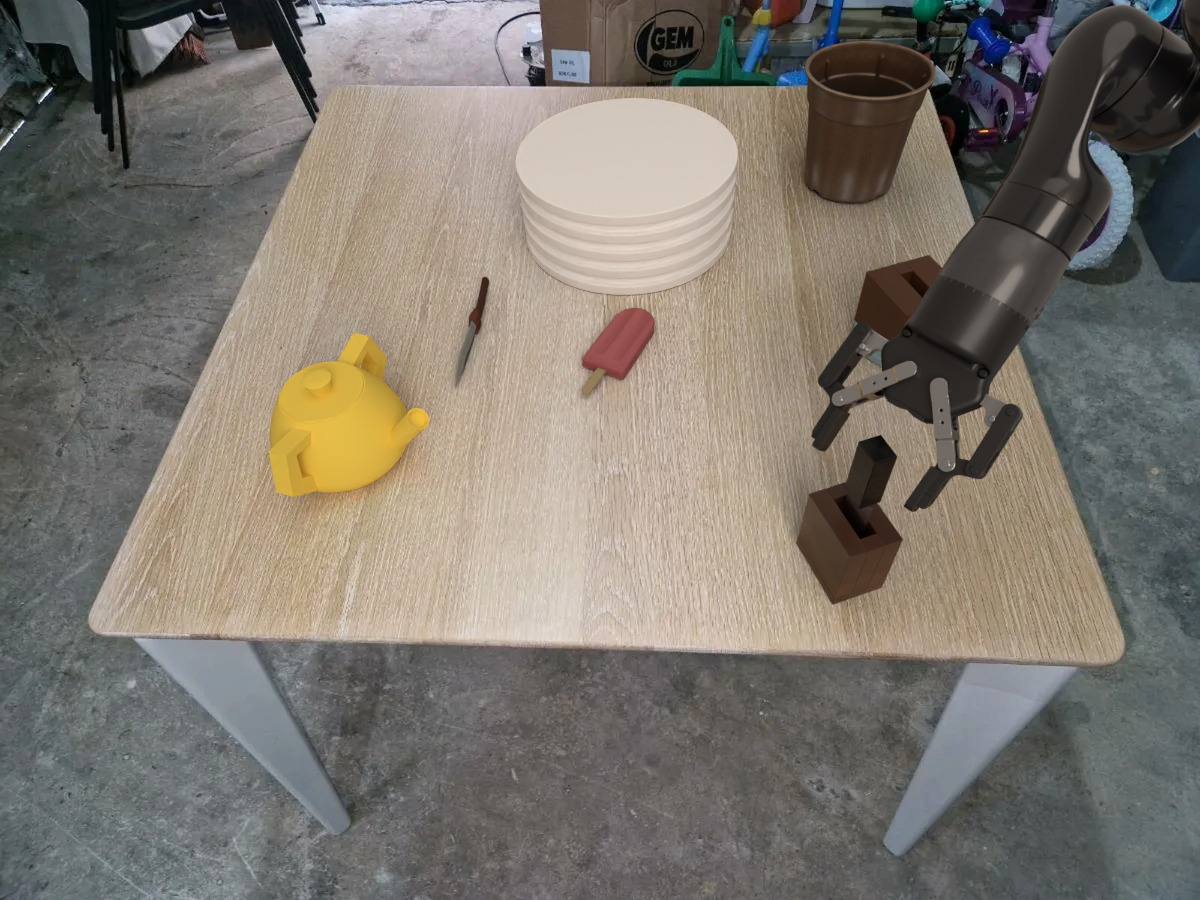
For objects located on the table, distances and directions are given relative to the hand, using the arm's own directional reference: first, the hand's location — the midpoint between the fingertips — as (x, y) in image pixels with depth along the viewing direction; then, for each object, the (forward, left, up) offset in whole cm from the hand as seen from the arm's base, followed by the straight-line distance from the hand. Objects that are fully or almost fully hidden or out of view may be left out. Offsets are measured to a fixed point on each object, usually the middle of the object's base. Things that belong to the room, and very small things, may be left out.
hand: (862, 478), depth 63 cm
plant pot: (-34, -56, -14) cm, 67 cm away
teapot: (+39, -30, -14) cm, 52 cm away
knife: (+24, -43, -14) cm, 52 cm away
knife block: (-1, 0, -14) cm, 14 cm away
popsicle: (+9, -34, -14) cm, 38 cm away
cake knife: (-1, 0, -13) cm, 13 cm away
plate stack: (-1, -57, -14) cm, 59 cm away
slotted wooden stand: (-23, -25, -14) cm, 37 cm away
